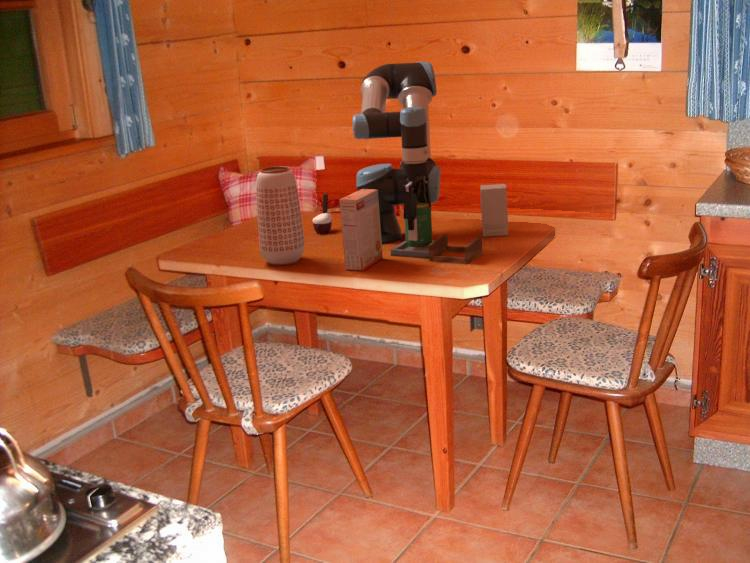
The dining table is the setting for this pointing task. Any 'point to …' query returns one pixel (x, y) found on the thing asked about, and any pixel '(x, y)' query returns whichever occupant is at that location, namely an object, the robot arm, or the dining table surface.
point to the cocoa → (323, 218)
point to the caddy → (454, 250)
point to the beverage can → (421, 226)
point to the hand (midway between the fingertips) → (418, 236)
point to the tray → (410, 251)
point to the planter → (279, 216)
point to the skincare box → (494, 210)
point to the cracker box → (361, 229)
